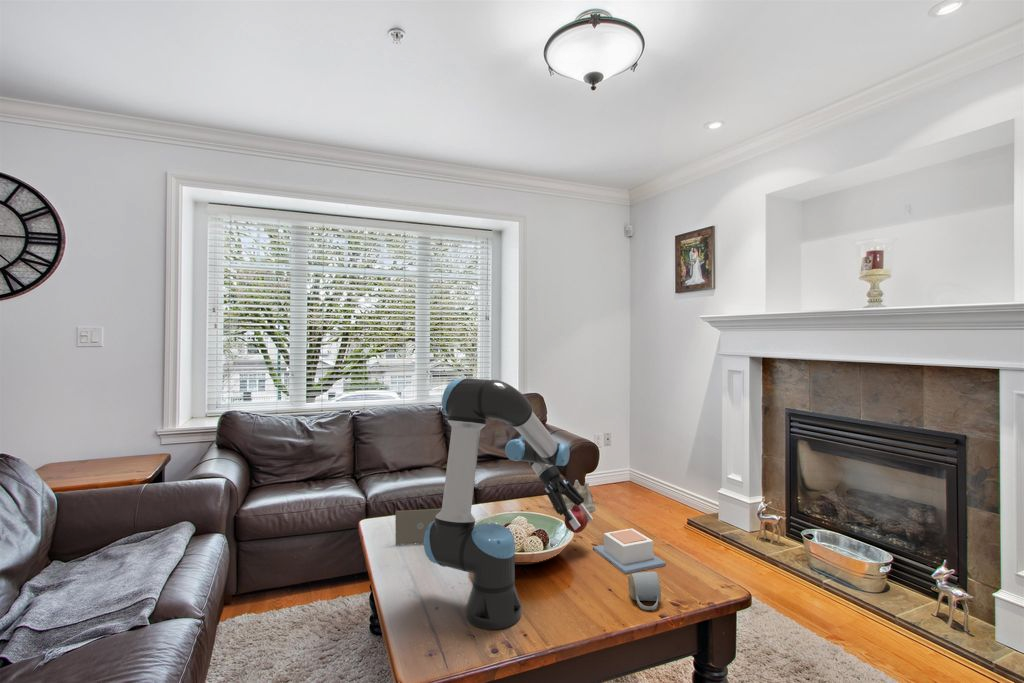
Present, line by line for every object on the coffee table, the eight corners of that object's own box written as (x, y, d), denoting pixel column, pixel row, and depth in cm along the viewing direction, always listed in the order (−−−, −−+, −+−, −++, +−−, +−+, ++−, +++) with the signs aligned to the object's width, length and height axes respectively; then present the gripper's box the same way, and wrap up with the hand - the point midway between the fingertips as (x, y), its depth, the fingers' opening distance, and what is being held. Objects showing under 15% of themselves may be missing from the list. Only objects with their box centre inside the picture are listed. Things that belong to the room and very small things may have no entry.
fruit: (591, 531, 178) (591, 503, 178) (580, 538, 171) (581, 509, 171) (570, 526, 182) (571, 499, 182) (560, 533, 176) (560, 505, 176)
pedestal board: (665, 565, 166) (665, 543, 166) (625, 574, 160) (625, 551, 160) (630, 542, 185) (630, 522, 185) (592, 549, 179) (592, 529, 179)
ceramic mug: (627, 592, 149) (627, 566, 149) (654, 592, 149) (654, 566, 149) (635, 612, 139) (635, 585, 138) (665, 612, 139) (665, 585, 138)
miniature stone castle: (600, 510, 219) (598, 476, 219) (571, 519, 210) (568, 483, 210) (578, 502, 232) (575, 470, 232) (549, 510, 223) (547, 477, 224)
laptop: (444, 530, 198) (444, 497, 198) (445, 543, 185) (444, 508, 185) (398, 533, 195) (398, 500, 195) (395, 546, 183) (395, 511, 183)
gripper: (555, 471, 194) (592, 522, 184) (523, 482, 178) (561, 539, 168) (567, 459, 191) (605, 510, 181) (535, 470, 175) (575, 526, 165)
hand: (584, 524), depth 175 cm, fingers closed on fruit, 8 cm apart
